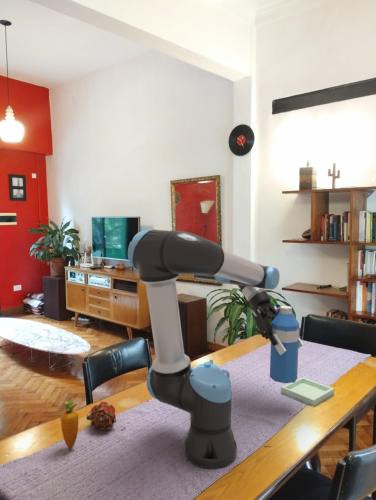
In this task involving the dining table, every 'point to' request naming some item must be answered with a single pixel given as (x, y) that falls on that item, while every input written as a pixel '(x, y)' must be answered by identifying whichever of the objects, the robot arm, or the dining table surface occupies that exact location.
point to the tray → (307, 391)
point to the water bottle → (288, 334)
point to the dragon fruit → (102, 416)
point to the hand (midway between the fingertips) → (292, 349)
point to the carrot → (69, 424)
